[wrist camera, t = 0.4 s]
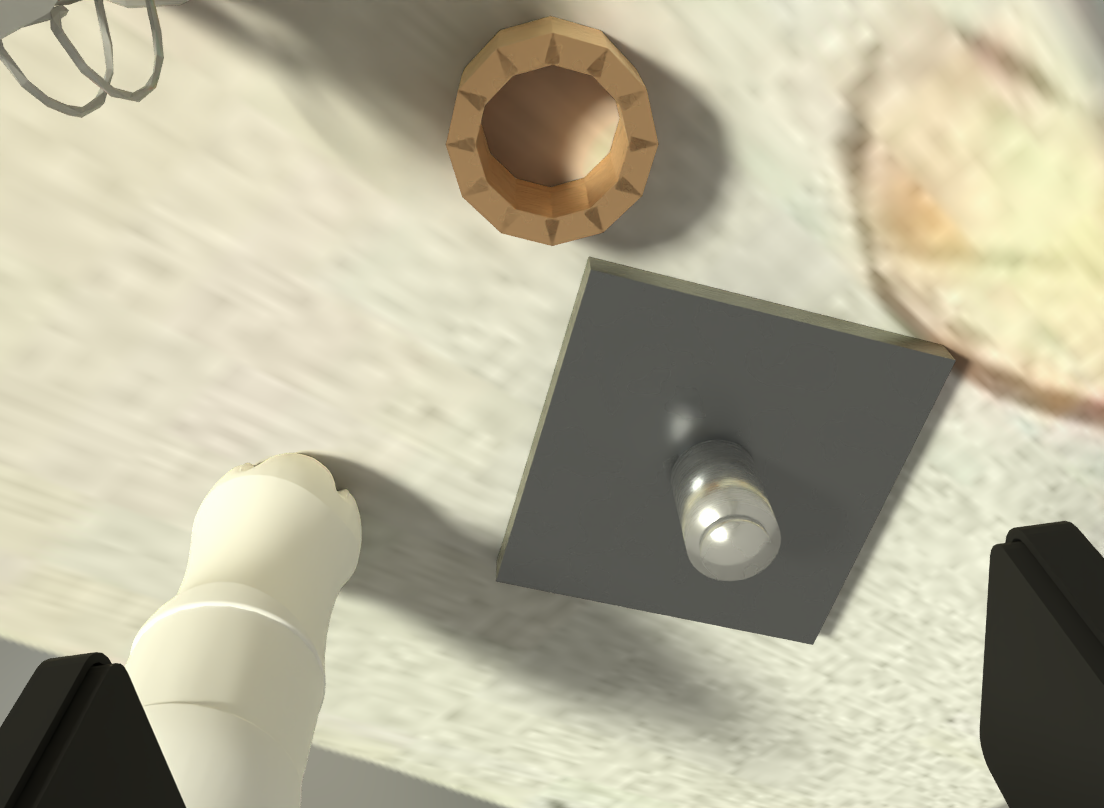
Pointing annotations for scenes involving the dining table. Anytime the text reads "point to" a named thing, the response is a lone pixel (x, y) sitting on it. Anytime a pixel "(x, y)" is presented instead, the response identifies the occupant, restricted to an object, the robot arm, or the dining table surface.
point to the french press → (12, 3)
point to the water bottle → (249, 634)
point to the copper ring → (572, 203)
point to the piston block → (713, 453)
